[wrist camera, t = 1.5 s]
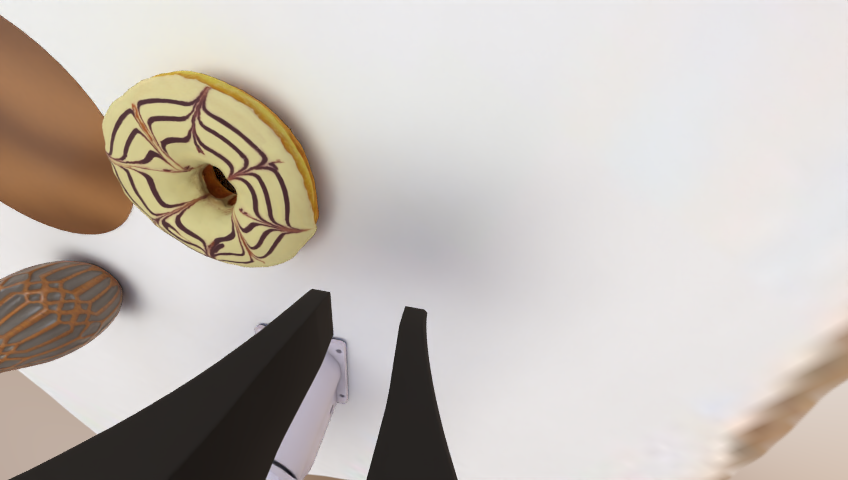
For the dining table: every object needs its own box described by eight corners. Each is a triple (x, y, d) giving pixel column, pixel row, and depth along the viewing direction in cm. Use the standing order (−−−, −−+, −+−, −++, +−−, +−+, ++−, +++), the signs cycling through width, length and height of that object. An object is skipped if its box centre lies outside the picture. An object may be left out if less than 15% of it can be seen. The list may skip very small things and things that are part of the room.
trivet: (167, 248, 23) (165, 249, 23) (-12, 215, 24) (-15, 216, 24) (59, -1, 15) (54, -1, 15) (-208, -38, 16) (-216, -39, 15)
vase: (44, 267, 26) (-123, 352, 19) (73, 233, 23) (-109, 319, 16) (119, 318, 29) (-1, 410, 21) (153, 293, 26) (28, 390, 19)
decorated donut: (241, 260, 22) (203, 295, 19) (119, 119, 18) (42, 134, 14) (359, 221, 19) (336, 256, 16) (248, 32, 14) (184, 29, 11)
